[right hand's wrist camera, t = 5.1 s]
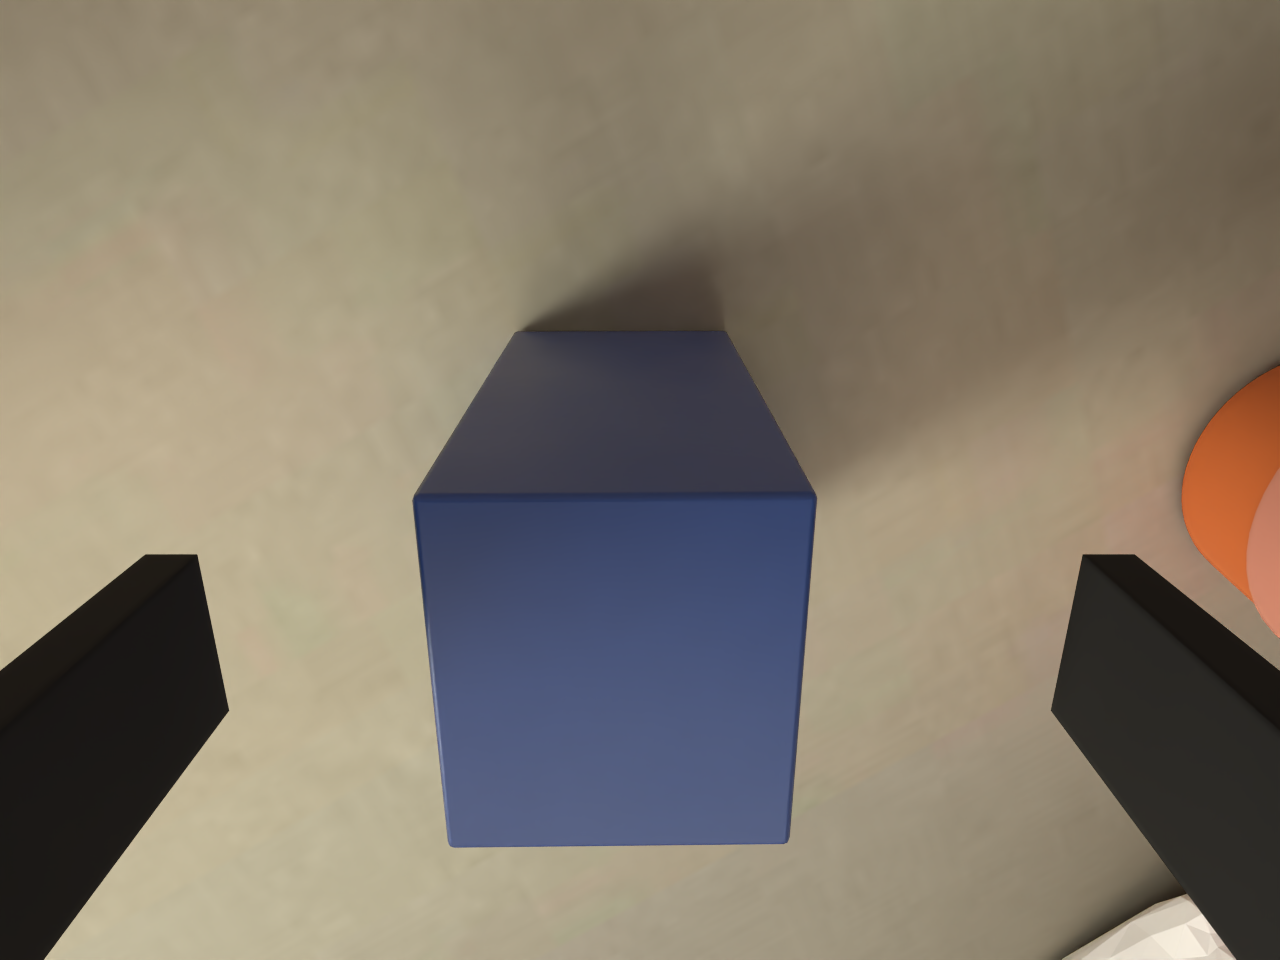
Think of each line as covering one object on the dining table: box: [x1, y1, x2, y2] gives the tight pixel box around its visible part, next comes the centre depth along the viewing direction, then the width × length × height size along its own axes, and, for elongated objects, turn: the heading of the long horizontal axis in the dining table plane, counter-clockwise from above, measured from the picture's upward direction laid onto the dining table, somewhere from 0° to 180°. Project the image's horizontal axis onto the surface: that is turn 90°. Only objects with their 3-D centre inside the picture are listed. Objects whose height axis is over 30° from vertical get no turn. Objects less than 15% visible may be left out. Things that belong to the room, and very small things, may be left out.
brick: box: [412, 331, 817, 847], centre depth 16 cm, size 5×6×10 cm
